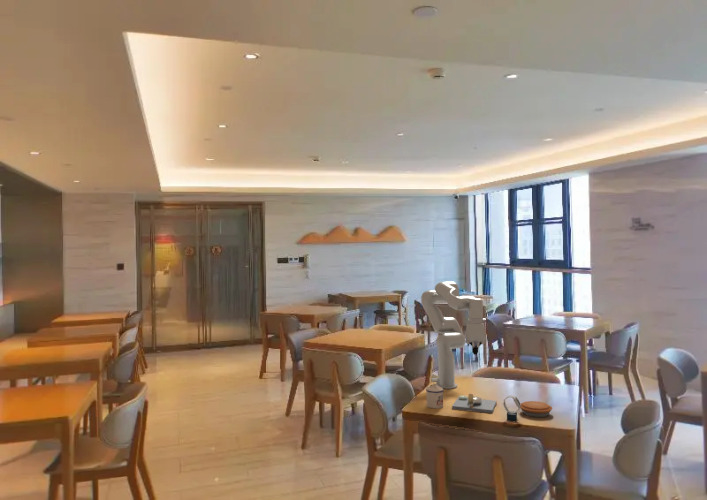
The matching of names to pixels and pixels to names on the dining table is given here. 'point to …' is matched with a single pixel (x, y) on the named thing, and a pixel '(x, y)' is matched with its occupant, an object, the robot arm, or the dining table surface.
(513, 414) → the watch
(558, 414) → the dining table surface
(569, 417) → the dining table surface
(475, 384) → the dining table surface
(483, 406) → the base plate
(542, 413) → the pie
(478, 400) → the footscrew knob
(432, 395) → the teacup with lid
